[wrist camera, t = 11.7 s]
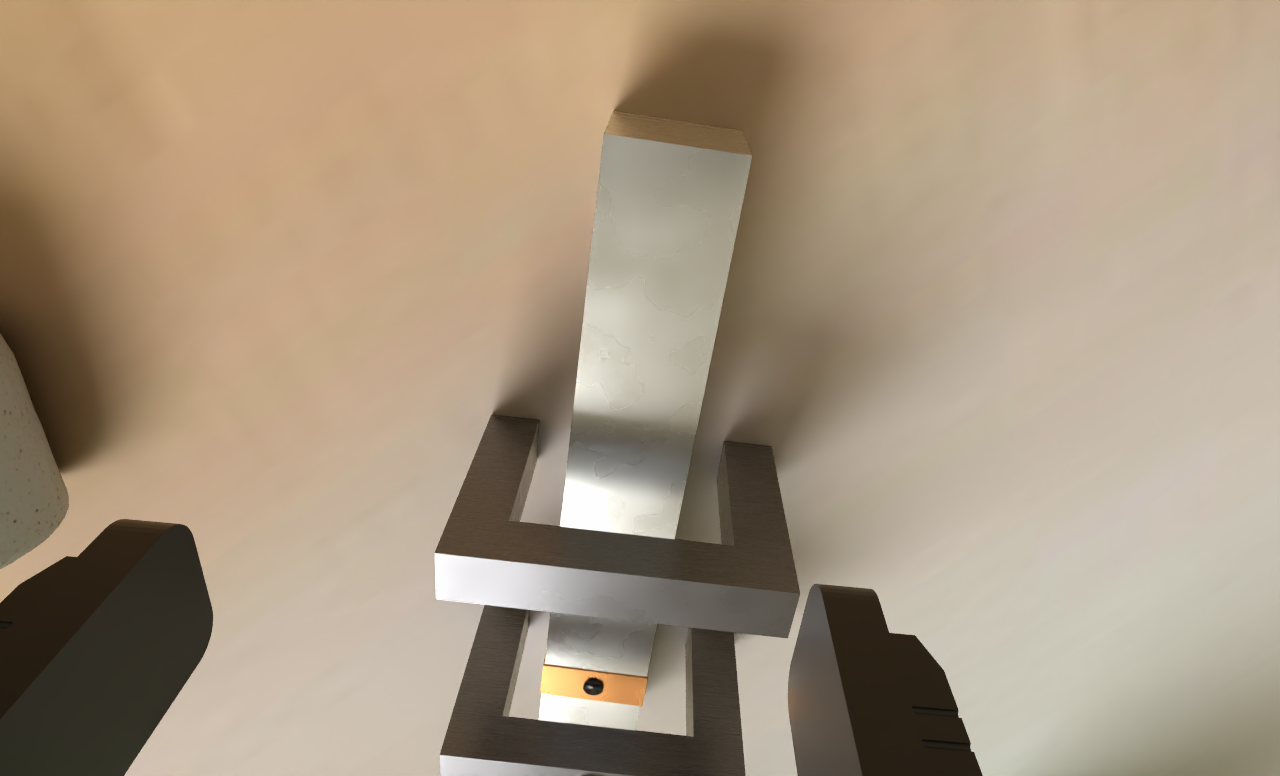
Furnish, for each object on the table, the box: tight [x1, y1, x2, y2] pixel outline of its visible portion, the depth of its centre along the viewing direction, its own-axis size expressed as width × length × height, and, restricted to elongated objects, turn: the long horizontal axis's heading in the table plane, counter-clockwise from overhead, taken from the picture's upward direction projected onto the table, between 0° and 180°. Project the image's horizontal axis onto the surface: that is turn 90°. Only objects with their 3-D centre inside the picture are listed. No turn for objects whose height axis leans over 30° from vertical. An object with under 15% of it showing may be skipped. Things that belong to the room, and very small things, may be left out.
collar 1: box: [435, 415, 800, 638], centre depth 26 cm, size 2×11×8 cm, turn 84°
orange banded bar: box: [539, 111, 752, 730], centre depth 29 cm, size 26×4×4 cm, turn 172°
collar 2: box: [440, 605, 745, 776], centre depth 31 cm, size 2×11×8 cm, turn 84°
